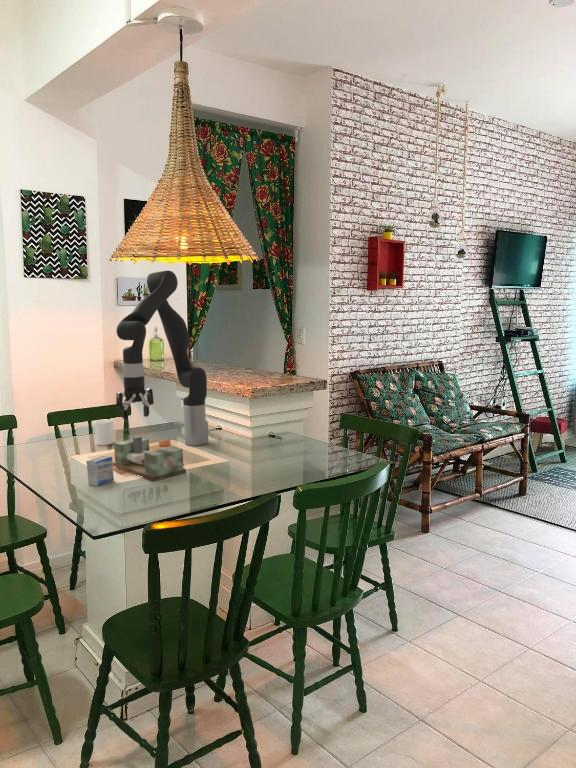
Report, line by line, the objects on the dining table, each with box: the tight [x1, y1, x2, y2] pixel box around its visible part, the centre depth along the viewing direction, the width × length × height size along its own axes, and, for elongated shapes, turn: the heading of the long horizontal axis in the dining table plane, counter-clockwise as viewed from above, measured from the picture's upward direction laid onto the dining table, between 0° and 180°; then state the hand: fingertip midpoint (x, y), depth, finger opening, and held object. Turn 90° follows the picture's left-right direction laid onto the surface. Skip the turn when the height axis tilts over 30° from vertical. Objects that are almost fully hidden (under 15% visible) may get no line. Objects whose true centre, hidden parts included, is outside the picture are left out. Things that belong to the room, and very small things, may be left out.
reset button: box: [158, 438, 172, 448], centre depth 225 cm, size 4×4×2 cm
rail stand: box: [113, 437, 187, 482], centre depth 235 cm, size 14×28×9 cm, turn 43°
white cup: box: [94, 419, 114, 446], centre depth 278 cm, size 8×8×10 cm
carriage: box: [127, 435, 151, 464], centre depth 238 cm, size 8×6×9 cm
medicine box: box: [86, 455, 115, 487], centre depth 220 cm, size 8×4×9 cm, turn 151°
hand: (136, 418), depth 238 cm, fingers open, 8 cm apart
